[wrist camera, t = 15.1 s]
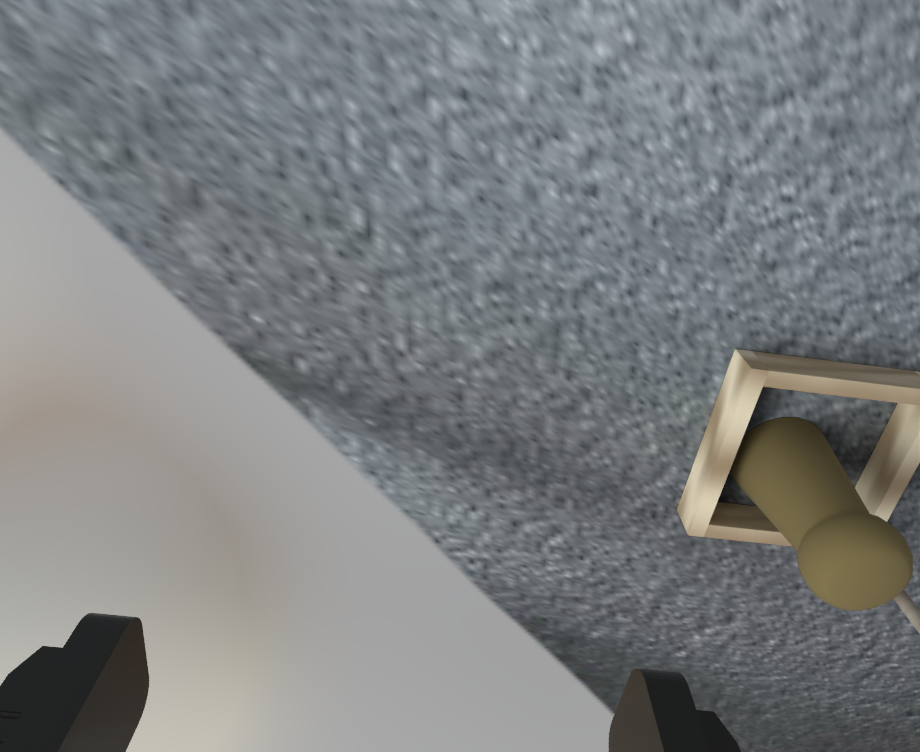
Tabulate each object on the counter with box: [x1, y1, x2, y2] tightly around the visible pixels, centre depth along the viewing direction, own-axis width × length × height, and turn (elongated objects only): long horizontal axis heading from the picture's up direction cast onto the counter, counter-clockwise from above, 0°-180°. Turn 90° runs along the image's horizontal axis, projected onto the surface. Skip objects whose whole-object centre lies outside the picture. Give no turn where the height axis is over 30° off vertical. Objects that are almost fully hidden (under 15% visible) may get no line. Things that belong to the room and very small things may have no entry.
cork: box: [731, 417, 913, 610], centre depth 38 cm, size 6×6×11 cm
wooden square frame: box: [677, 349, 920, 633], centre depth 36 cm, size 17×13×16 cm
